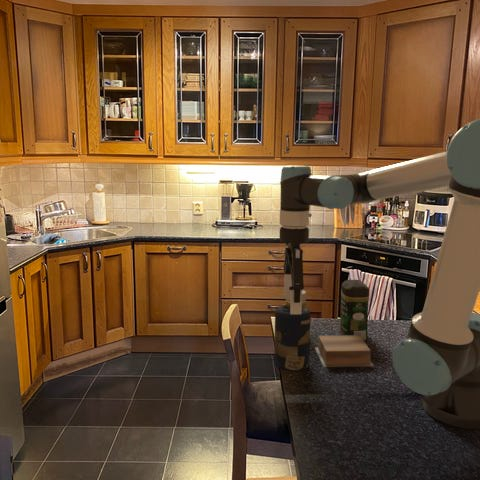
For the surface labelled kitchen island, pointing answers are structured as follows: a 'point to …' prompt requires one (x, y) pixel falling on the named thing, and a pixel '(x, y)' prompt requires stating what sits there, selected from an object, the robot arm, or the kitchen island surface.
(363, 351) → the base block
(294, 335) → the canister
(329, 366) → the board
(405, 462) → the kitchen island surface
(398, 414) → the kitchen island surface
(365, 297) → the coffee jar
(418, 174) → the robot arm
